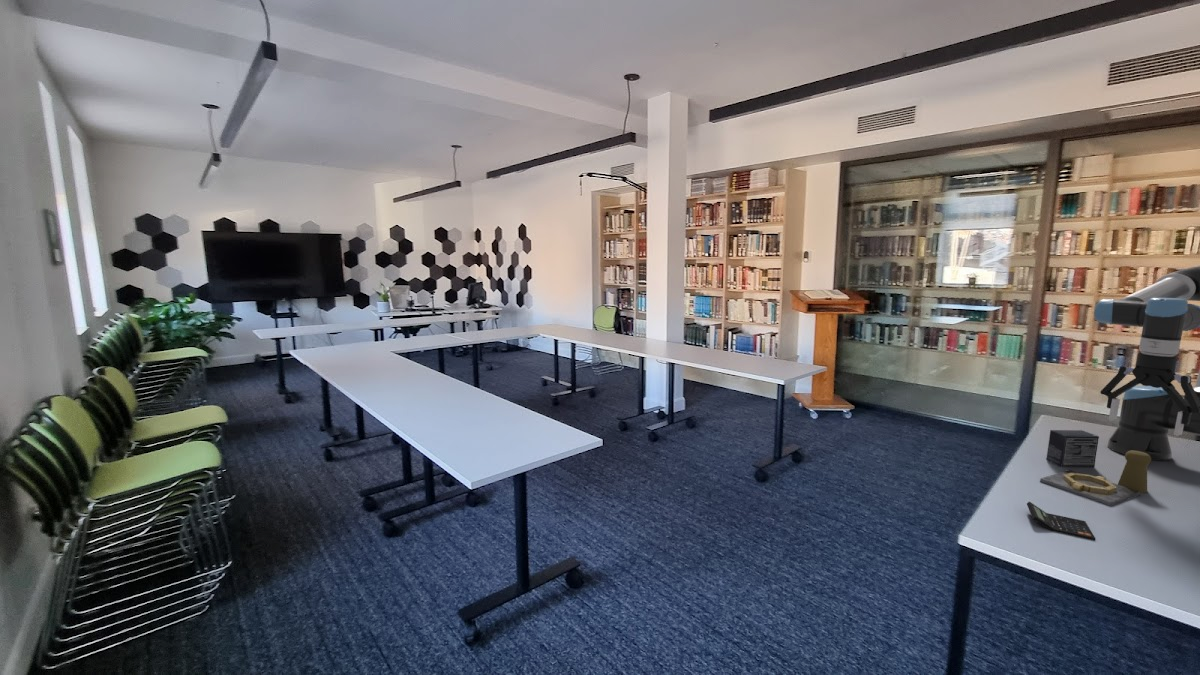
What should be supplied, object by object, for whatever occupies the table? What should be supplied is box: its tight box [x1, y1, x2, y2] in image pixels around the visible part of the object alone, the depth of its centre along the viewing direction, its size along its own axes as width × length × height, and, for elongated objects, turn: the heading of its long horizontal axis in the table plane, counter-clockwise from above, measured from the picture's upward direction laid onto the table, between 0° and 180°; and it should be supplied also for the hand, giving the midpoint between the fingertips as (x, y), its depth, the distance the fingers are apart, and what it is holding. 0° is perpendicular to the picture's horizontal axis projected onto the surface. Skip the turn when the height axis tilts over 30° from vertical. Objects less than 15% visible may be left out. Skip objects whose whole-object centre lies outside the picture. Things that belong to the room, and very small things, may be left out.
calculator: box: [1026, 501, 1096, 541], centre depth 128 cm, size 9×12×3 cm
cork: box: [1117, 450, 1152, 494], centre depth 148 cm, size 6×6×11 cm
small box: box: [1045, 429, 1100, 468], centre depth 165 cm, size 11×6×10 cm, turn 88°
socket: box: [1040, 469, 1141, 507], centre depth 148 cm, size 16×16×2 cm
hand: (1143, 427), depth 146 cm, fingers open, 13 cm apart
